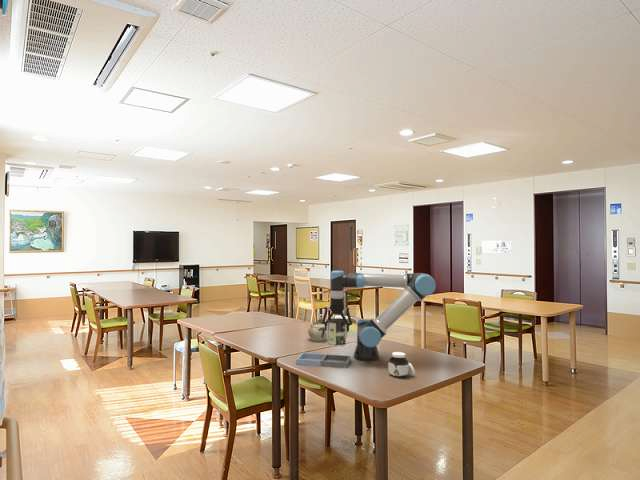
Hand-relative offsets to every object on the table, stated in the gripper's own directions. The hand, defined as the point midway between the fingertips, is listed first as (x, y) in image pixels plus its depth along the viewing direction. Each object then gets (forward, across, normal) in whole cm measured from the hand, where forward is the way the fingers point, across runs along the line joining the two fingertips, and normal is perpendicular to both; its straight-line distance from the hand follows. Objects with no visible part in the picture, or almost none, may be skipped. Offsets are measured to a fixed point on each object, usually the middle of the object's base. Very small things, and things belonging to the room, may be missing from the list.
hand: (336, 336), depth 237 cm
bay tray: (+15, +8, 0) cm, 17 cm away
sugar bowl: (+15, +22, -53) cm, 60 cm away
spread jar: (+16, -36, +14) cm, 42 cm away
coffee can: (+5, 0, 0) cm, 5 cm away
